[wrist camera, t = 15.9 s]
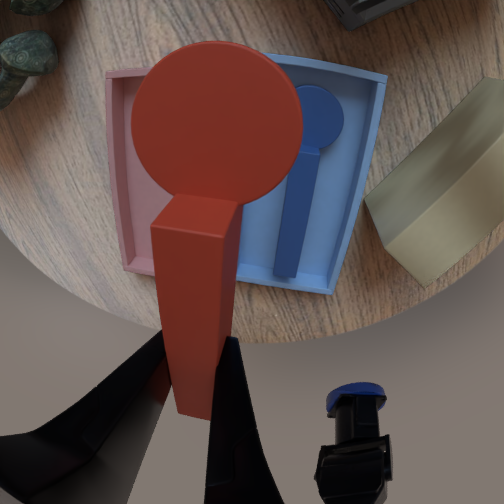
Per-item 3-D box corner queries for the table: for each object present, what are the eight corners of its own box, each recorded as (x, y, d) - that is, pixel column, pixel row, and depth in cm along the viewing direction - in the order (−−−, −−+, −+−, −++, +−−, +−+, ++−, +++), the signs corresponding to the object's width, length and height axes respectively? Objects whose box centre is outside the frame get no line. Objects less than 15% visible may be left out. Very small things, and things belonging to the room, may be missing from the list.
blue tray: (330, 279, 23) (332, 295, 22) (233, 263, 24) (228, 279, 22) (379, 74, 15) (388, 75, 13) (251, 53, 15) (246, 51, 13)
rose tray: (220, 272, 24) (214, 287, 23) (133, 257, 25) (123, 270, 23) (232, 67, 16) (225, 67, 14) (120, 69, 16) (105, 71, 15)
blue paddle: (280, 80, 15) (277, 81, 13) (346, 91, 15) (354, 94, 13) (259, 250, 22) (254, 272, 20) (312, 259, 22) (313, 281, 20)
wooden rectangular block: (484, 75, 13) (541, 88, 8) (513, 121, 14) (567, 148, 9) (363, 198, 19) (383, 248, 14) (399, 234, 20) (424, 289, 15)
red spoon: (151, 44, 6) (91, 42, 4) (313, 53, 6) (322, 45, 4) (167, 358, 12) (149, 406, 10) (254, 376, 12) (246, 427, 10)
